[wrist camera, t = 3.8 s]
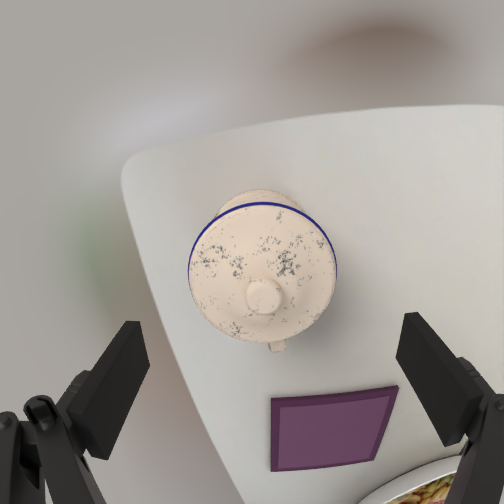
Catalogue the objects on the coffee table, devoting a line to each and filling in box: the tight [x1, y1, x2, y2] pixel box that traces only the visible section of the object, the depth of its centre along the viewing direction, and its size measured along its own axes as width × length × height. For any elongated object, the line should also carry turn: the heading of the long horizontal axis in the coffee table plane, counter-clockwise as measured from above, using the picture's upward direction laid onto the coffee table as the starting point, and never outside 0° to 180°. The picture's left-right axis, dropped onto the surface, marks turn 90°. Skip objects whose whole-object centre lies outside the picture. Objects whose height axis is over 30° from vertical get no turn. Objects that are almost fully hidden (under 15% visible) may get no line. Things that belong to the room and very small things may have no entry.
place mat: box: [271, 385, 399, 472], centre depth 35 cm, size 15×15×1 cm
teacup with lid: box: [188, 190, 337, 353], centre depth 22 cm, size 12×9×12 cm
